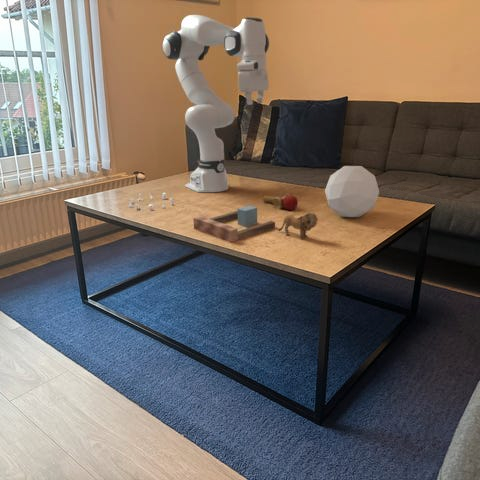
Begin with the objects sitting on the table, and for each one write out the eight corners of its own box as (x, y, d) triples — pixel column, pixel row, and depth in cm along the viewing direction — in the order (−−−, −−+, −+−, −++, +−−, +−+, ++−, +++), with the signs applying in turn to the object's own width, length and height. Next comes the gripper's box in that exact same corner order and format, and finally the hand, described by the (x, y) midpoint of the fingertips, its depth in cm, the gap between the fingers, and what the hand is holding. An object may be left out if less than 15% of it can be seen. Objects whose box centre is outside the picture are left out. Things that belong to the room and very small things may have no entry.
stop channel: (194, 228, 164) (193, 217, 163) (237, 215, 177) (237, 205, 176) (231, 242, 150) (230, 230, 149) (275, 227, 164) (275, 216, 162)
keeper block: (237, 224, 167) (237, 208, 165) (249, 221, 171) (249, 205, 169) (245, 227, 165) (245, 211, 163) (257, 223, 168) (257, 207, 166)
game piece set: (157, 196, 209) (156, 188, 208) (184, 204, 195) (183, 195, 194) (119, 205, 196) (118, 196, 195) (145, 214, 183) (144, 205, 181)
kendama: (257, 207, 193) (287, 210, 179) (258, 192, 192) (288, 194, 178) (271, 207, 198) (301, 210, 184) (272, 192, 197) (302, 194, 183)
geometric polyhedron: (342, 236, 173) (316, 199, 164) (340, 204, 188) (316, 168, 178) (390, 216, 165) (365, 176, 155) (384, 184, 179) (361, 146, 170)
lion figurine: (319, 237, 153) (320, 211, 150) (312, 242, 149) (313, 215, 146) (281, 230, 161) (281, 205, 158) (273, 234, 157) (273, 209, 154)
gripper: (257, 65, 180) (258, 102, 185) (234, 65, 163) (236, 105, 168) (272, 65, 178) (272, 102, 182) (250, 64, 160) (251, 105, 165)
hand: (254, 103), depth 175 cm, fingers open, 8 cm apart
